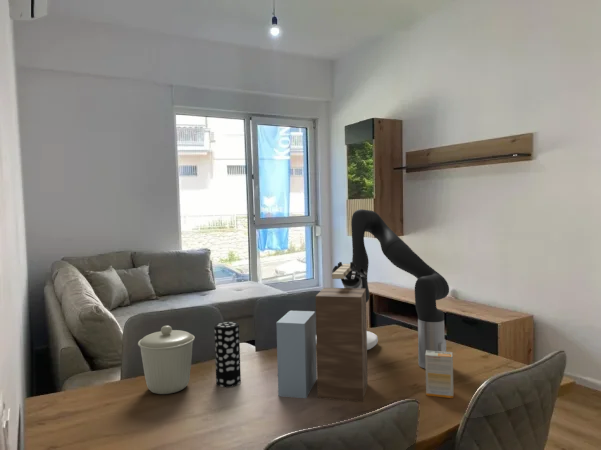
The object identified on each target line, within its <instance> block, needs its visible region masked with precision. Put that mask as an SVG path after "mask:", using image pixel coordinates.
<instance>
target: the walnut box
mask: <svg viewBox="0 0 601 450" xmlns="http://www.w3.org/2000/svg"><path fill="white" fill-rule="evenodd" d="M315 321H316V340H317V344H316V366H317V379H316V381H317V383H316V384H317V399H326V400H334V401H335V400H337V401H349V402H362V403H363V402H364V398H365V394H366V392H367V387H368V350H367V331H368V330H367V327H368V326H367V303H366V289H363V288H345V287H323V288H322V289H321V290H320V291H319V292H318V293H316V295H315Z"/></svg>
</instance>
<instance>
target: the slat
mask: <svg viewBox="0 0 601 450" xmlns="http://www.w3.org/2000/svg"><path fill="white" fill-rule="evenodd" d="M350 271H351V268H350V263H342V266H340V267H339V268H338V269H337V270H336V271H335V272H334V273H333V274H332V273H331V278H332V280H341V279H343V278H344V277H345V276H346V275H347V274H348V273H349V272H350Z"/></svg>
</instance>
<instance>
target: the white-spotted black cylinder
mask: <svg viewBox="0 0 601 450" xmlns="http://www.w3.org/2000/svg"><path fill="white" fill-rule="evenodd" d="M213 327H214V329H213V330H214V357H215V359H214V360H215V384H216V386H218V387H221V388H231V387H235V386H237V385H240V384H241V382H242V380H241V379H242V377H241V376H242V375H241V349H240V348H241V345H240V343H241V341H240V323H239V321H238V322H237V321H228V320H227V321H221V322H217V323H214V326H213Z"/></svg>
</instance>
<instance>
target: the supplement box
mask: <svg viewBox="0 0 601 450" xmlns="http://www.w3.org/2000/svg"><path fill="white" fill-rule="evenodd" d="M453 353H454V352H452V351H446V352H443V351H429V350H426V354H425V368H426V369H425V368H424V369H425V394H426V396H427V397H438V398H447V399H454V361H453V360H454V358H453V357H454V355H453Z"/></svg>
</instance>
